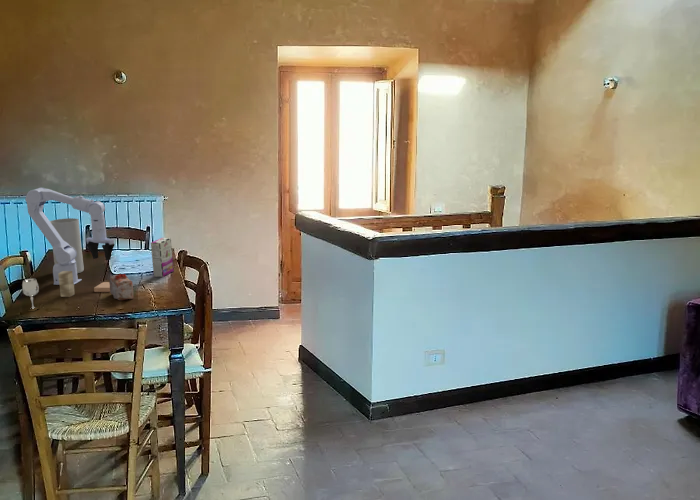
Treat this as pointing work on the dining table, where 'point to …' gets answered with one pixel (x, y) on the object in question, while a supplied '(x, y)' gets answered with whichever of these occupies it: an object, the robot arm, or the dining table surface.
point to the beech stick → (66, 283)
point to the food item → (121, 287)
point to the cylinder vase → (70, 238)
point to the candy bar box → (162, 257)
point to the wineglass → (30, 288)
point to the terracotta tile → (102, 287)
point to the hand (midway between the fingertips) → (102, 259)
